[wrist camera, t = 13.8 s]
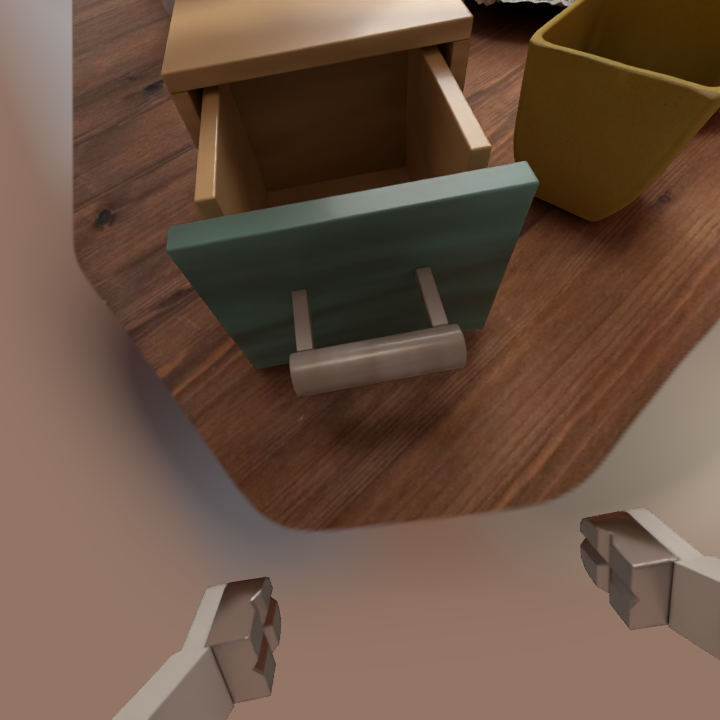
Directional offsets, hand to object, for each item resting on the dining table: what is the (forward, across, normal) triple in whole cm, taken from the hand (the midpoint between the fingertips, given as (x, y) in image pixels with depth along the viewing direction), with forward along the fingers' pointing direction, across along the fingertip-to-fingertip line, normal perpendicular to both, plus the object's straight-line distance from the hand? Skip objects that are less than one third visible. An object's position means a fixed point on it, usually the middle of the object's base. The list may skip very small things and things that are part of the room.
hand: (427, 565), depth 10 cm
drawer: (+15, 0, -6) cm, 16 cm away
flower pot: (+19, -16, -9) cm, 27 cm away
